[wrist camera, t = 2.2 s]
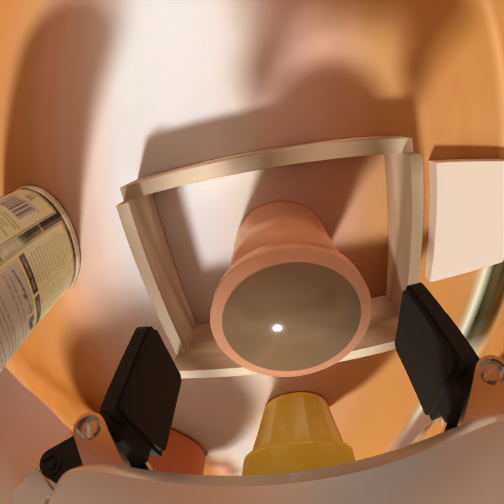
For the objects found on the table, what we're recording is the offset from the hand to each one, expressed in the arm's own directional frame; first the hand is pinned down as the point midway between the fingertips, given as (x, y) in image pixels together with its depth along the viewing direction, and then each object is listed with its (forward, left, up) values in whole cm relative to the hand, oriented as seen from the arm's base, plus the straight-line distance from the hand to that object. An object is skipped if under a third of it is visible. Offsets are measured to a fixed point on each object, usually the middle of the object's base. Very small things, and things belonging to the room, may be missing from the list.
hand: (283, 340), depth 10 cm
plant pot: (+1, +19, -10) cm, 22 cm away
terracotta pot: (0, 0, -9) cm, 9 cm away
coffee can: (+20, -4, -10) cm, 22 cm away
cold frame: (0, 0, -9) cm, 9 cm away
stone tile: (-16, 0, -9) cm, 18 cm away
